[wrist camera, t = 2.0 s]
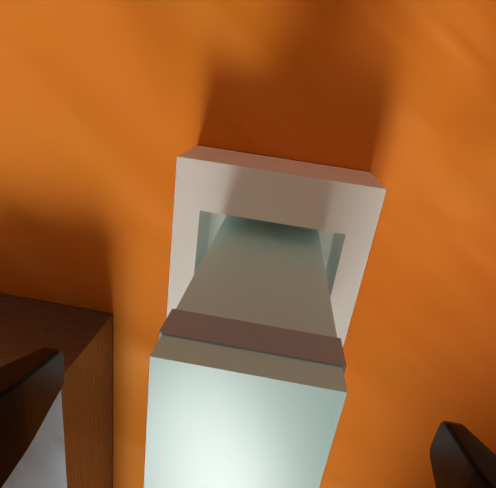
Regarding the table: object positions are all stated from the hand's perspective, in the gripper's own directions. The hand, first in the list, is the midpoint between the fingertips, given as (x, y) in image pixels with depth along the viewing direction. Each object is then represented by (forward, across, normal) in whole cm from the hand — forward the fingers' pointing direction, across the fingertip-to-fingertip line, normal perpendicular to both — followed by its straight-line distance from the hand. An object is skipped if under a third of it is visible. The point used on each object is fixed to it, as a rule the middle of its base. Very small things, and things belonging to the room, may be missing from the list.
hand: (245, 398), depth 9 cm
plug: (+6, 0, 0) cm, 6 cm away
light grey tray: (+6, 0, 0) cm, 6 cm away
